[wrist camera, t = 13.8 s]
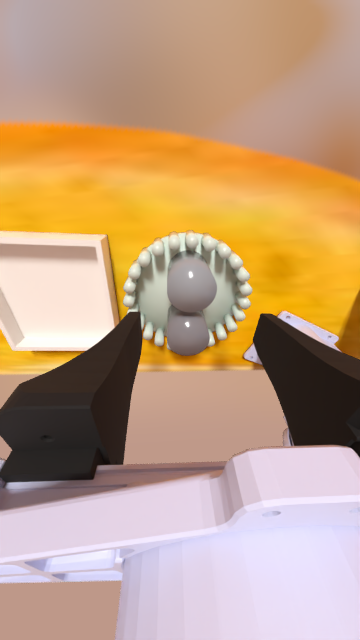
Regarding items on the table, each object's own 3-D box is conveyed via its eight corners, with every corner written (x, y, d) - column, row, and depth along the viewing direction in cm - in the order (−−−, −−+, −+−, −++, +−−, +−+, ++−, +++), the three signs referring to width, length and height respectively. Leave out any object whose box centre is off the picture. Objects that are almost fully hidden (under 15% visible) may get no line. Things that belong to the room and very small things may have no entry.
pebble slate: (215, 261, 20) (226, 280, 16) (195, 295, 22) (201, 318, 18) (178, 242, 18) (181, 257, 15) (160, 279, 20) (158, 301, 17)
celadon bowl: (256, 232, 19) (268, 238, 17) (232, 337, 26) (237, 351, 24) (120, 227, 18) (114, 232, 16) (132, 336, 25) (129, 351, 23)
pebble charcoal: (209, 306, 22) (217, 330, 19) (193, 333, 24) (197, 360, 21) (176, 292, 21) (178, 316, 18) (161, 322, 23) (160, 348, 19)
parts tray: (107, 234, 18) (100, 240, 17) (122, 338, 25) (118, 350, 23) (-28, 229, 18) (-51, 235, 16) (24, 337, 24) (12, 350, 23)
